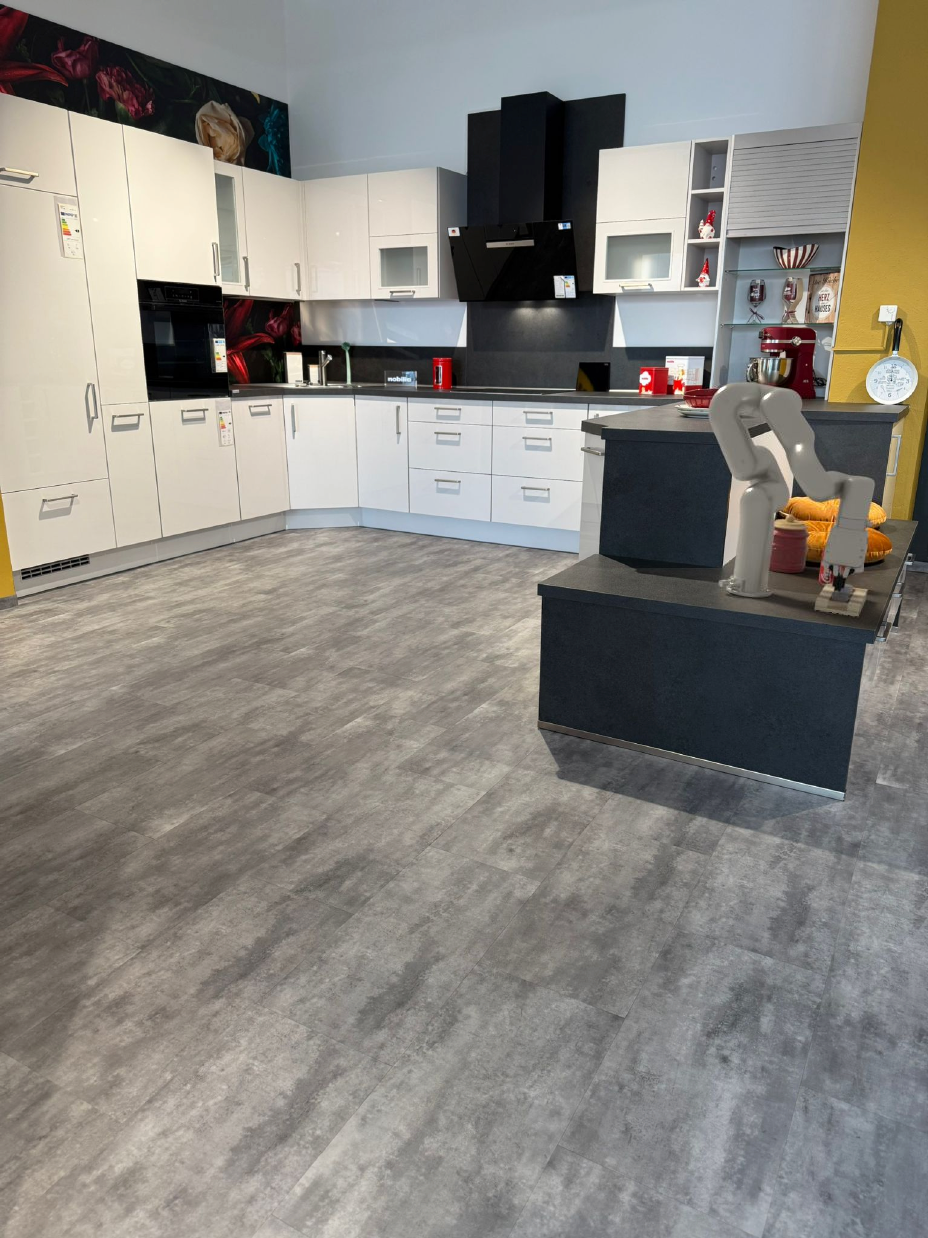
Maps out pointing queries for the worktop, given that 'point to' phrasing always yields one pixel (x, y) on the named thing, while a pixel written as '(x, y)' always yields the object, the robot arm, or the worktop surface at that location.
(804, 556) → the canister
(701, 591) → the worktop surface
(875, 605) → the worktop surface
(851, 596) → the birch panel
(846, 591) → the slate button
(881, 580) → the worktop surface
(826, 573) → the soda can
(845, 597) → the charcoal button
